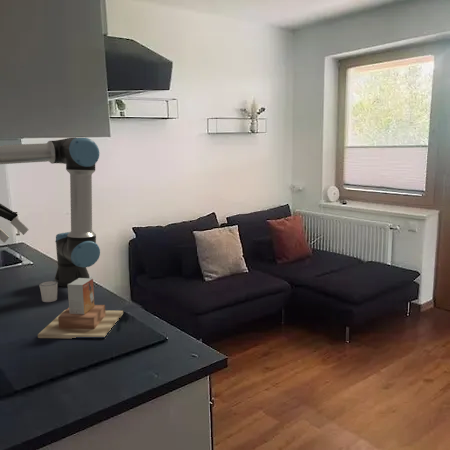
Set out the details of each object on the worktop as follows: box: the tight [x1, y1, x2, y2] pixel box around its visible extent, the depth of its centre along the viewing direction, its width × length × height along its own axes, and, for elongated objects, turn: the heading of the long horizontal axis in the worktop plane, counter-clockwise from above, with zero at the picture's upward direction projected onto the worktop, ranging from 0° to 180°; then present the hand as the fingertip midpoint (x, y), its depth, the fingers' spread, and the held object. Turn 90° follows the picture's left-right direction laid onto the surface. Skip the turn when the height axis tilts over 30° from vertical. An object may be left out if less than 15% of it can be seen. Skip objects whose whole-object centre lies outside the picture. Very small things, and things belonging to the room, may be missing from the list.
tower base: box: [37, 304, 124, 339], centre depth 156 cm, size 22×22×5 cm
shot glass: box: [39, 280, 58, 303], centre depth 182 cm, size 7×7×7 cm
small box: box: [67, 278, 95, 315], centre depth 155 cm, size 8×6×10 cm
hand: (16, 235), depth 161 cm, fingers open, 13 cm apart
